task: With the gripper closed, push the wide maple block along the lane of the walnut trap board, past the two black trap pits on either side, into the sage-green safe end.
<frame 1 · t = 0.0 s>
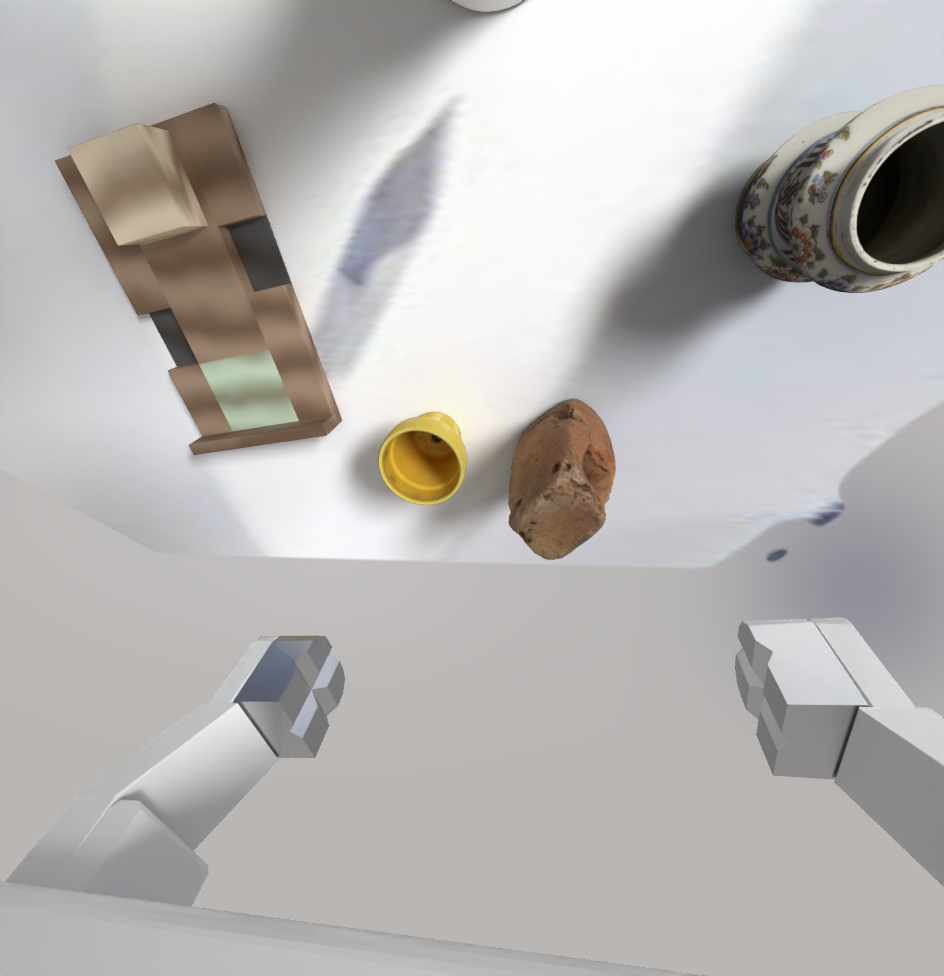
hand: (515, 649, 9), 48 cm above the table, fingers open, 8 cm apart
block: (559, 431, 58), on the table
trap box: (220, 304, 56), on the table
plant pot: (438, 434, 60), on the table
apothecary jar: (791, 206, 43), on the table
maple block: (156, 190, 48), point 2 cm above the table, touching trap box
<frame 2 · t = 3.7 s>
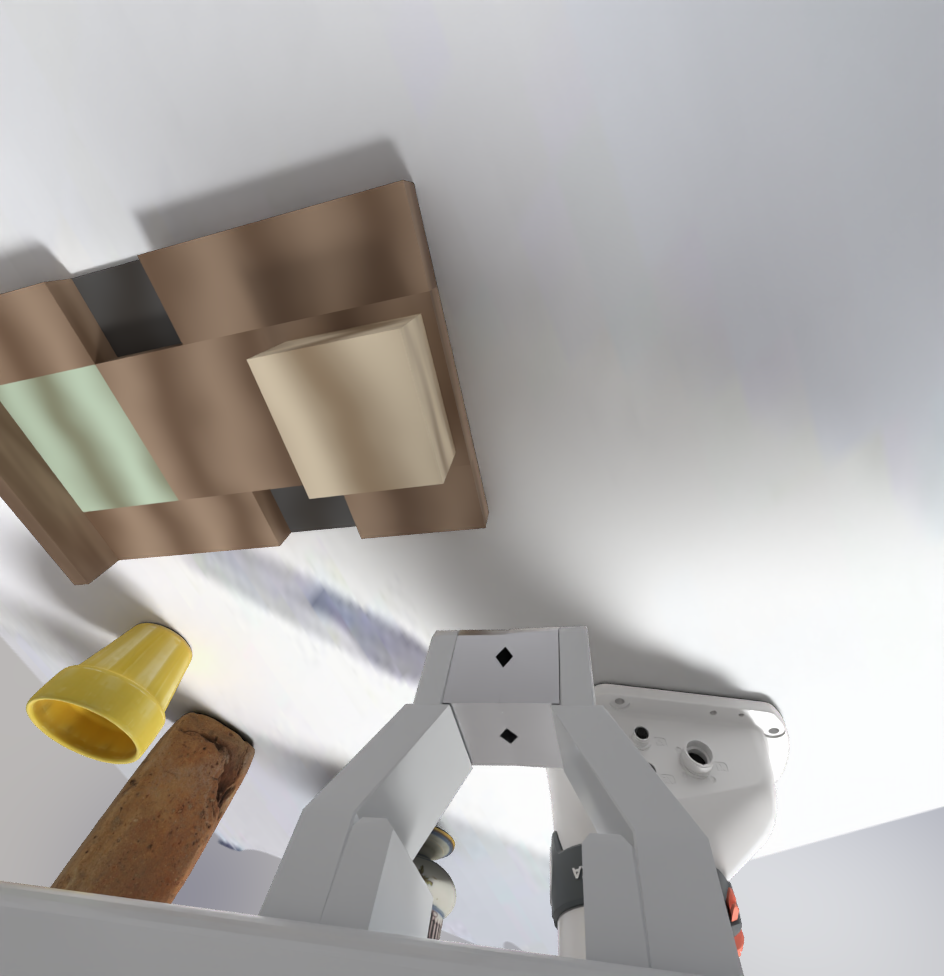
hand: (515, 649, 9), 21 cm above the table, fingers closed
block: (220, 731, 56), on the table
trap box: (228, 415, 32), on the table
plant pot: (165, 642, 48), on the table
apothecary jar: (421, 836, 63), on the table
maple block: (373, 399, 27), point 2 cm above the table, touching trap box
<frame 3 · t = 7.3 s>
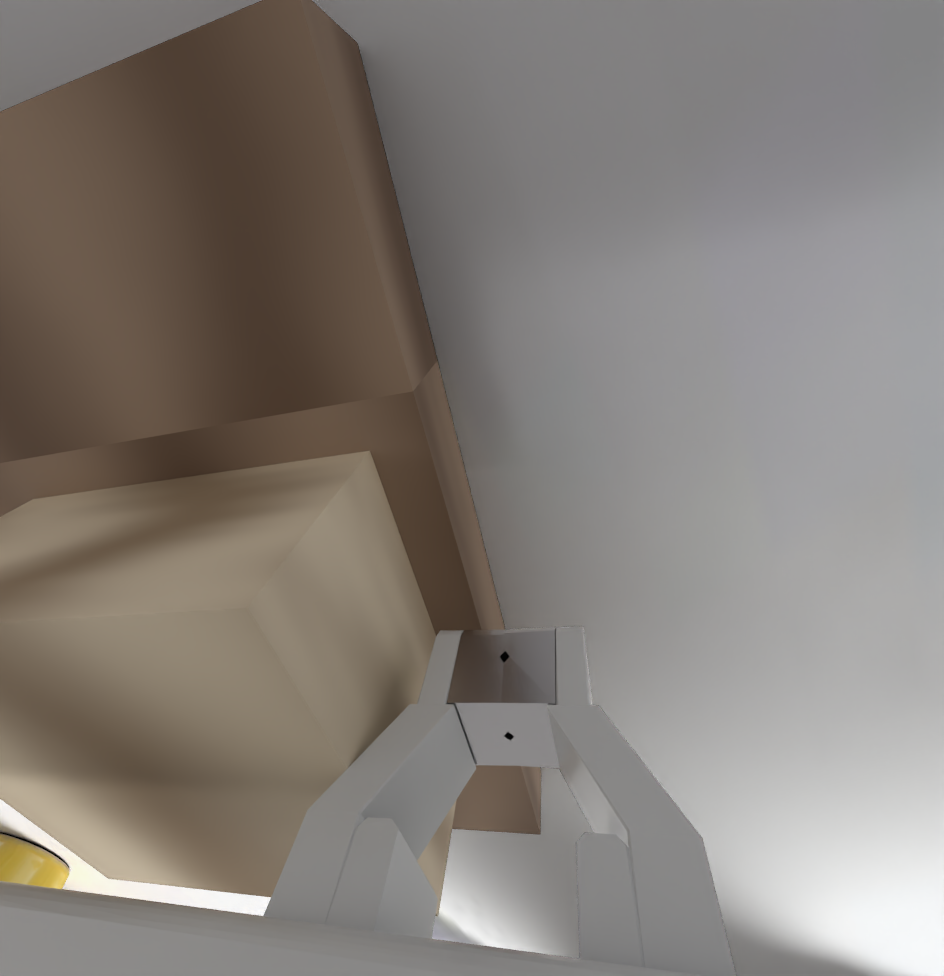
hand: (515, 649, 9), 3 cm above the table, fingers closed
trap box: (16, 594, 16), on the table
plant pot: (28, 850, 32), on the table
maple block: (270, 622, 11), point 2 cm above the table, touching gripper
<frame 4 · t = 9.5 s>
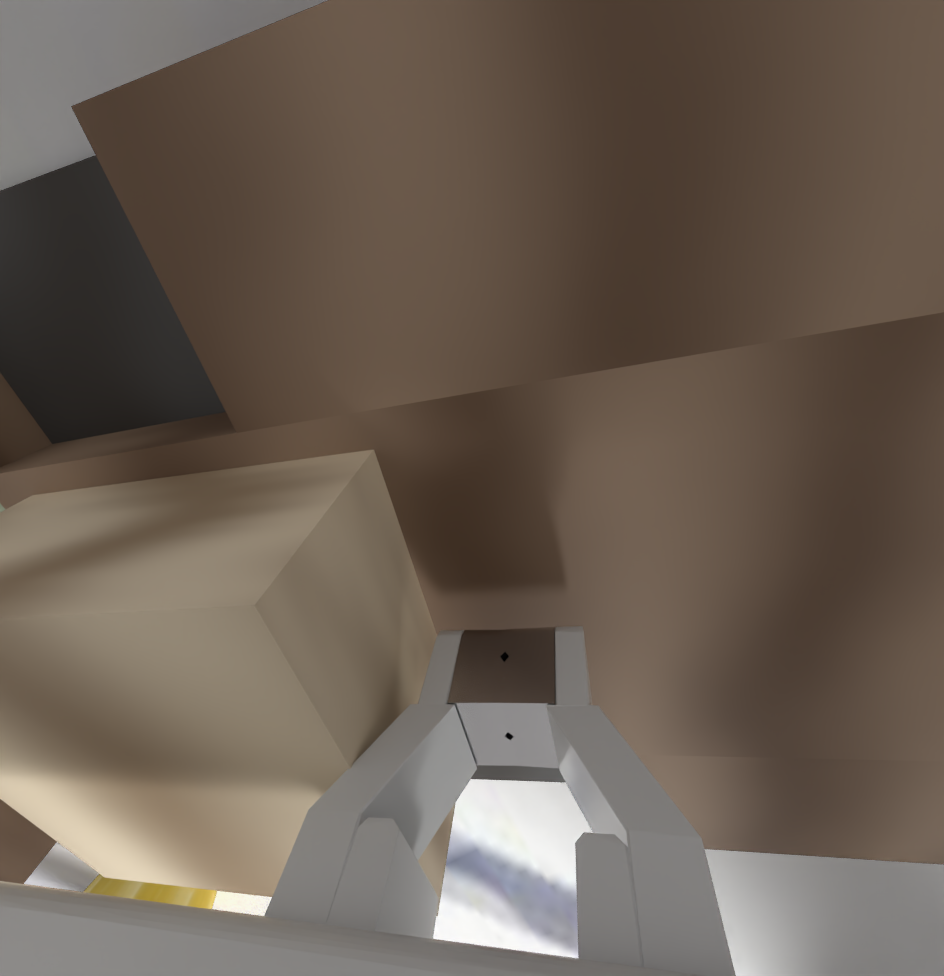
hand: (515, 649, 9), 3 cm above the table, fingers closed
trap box: (331, 575, 13), on the table
plant pot: (171, 868, 29), on the table
maple block: (270, 621, 11), point 2 cm above the table, touching gripper
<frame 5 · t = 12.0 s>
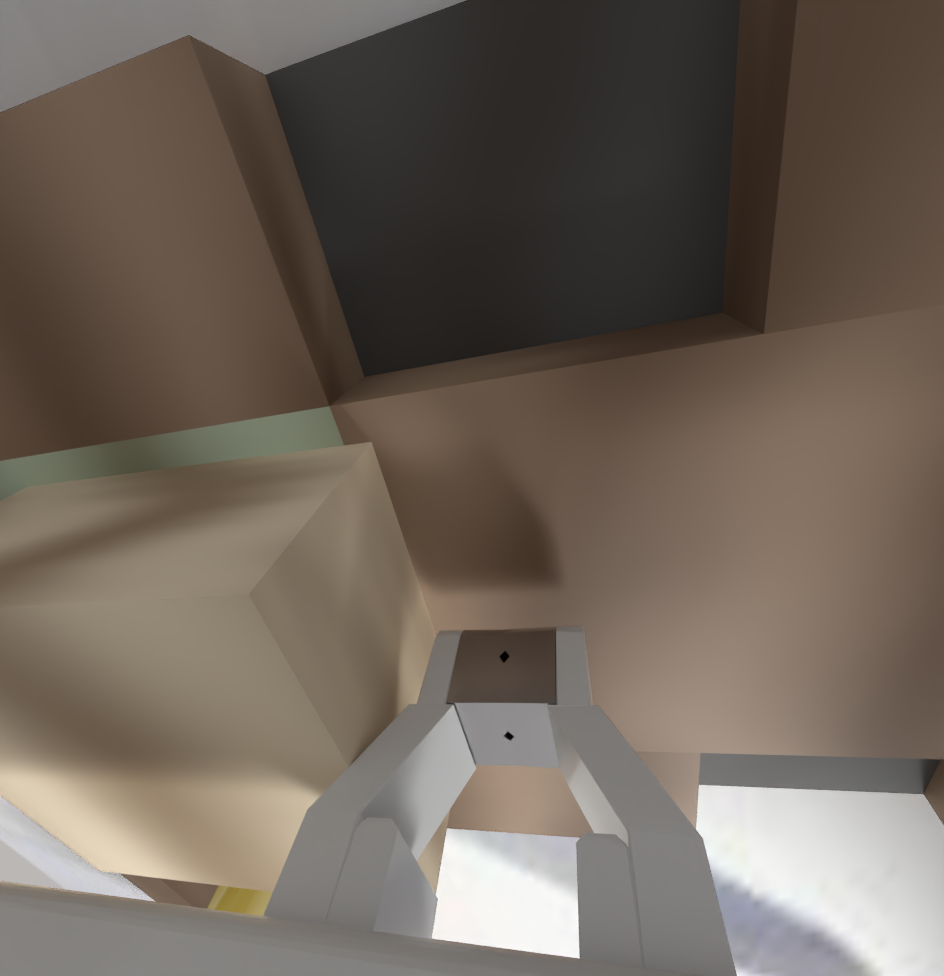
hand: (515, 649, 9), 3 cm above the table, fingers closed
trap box: (662, 544, 11), on the table
plant pot: (289, 875, 27), on the table
maple block: (267, 615, 11), point 2 cm above the table, touching gripper, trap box
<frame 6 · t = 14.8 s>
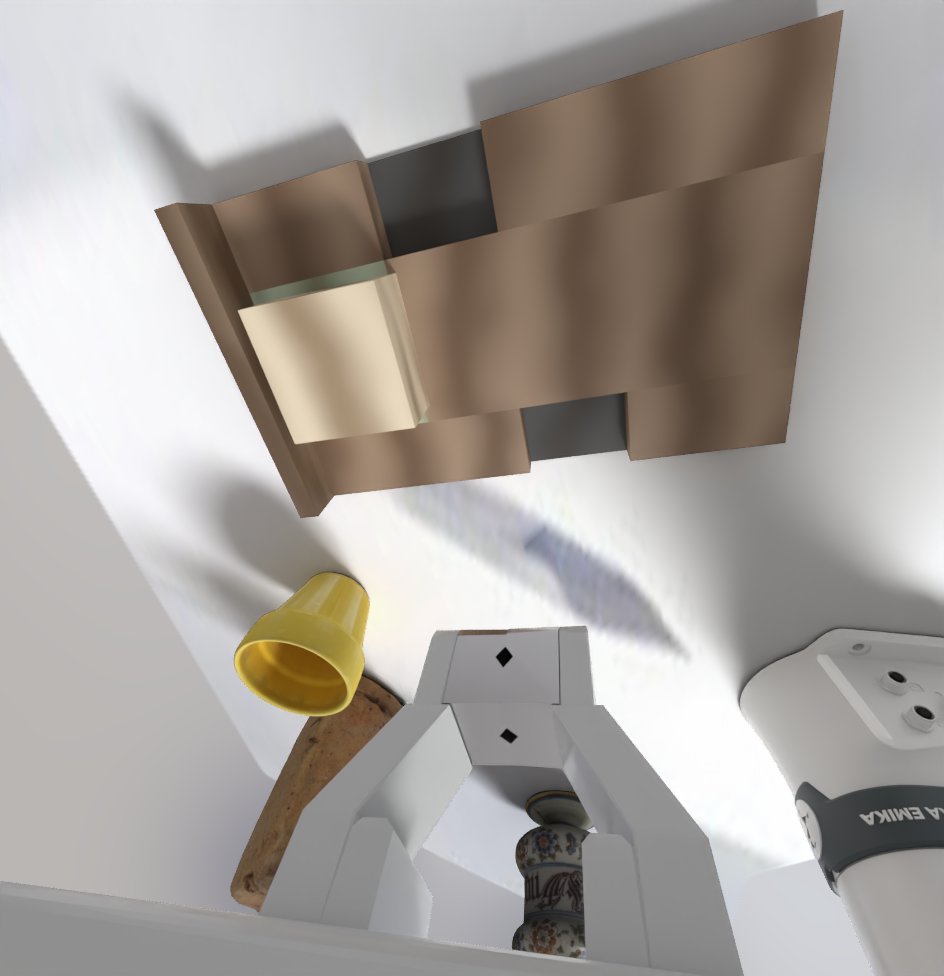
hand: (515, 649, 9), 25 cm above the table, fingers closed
block: (371, 695, 54), on the table
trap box: (500, 324, 30), on the table
plant pot: (339, 595, 46), on the table
apothecary jar: (563, 808, 60), on the table
maple block: (354, 354, 30), point 2 cm above the table, touching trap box
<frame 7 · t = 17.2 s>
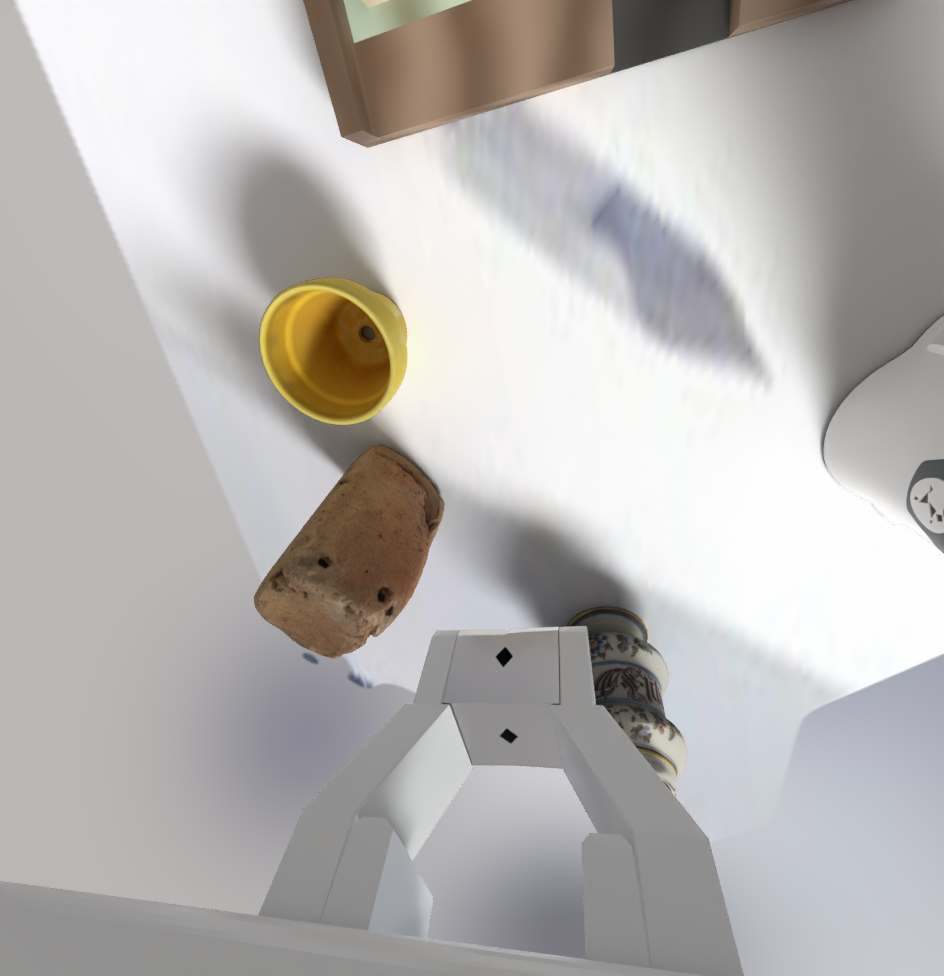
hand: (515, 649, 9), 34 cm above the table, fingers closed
block: (401, 484, 49), on the table
plant pot: (372, 331, 41), on the table
apothecary jar: (605, 634, 55), on the table
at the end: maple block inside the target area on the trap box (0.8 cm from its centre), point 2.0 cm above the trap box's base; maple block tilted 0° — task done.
